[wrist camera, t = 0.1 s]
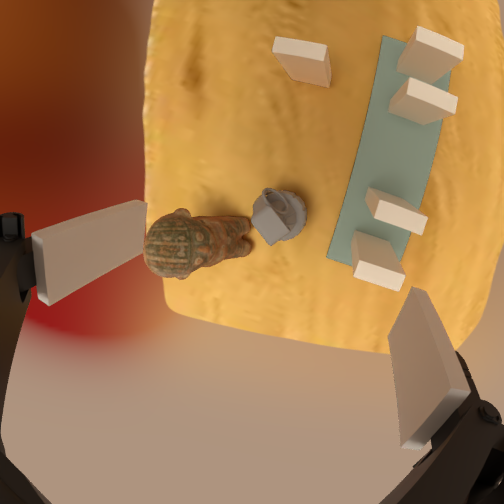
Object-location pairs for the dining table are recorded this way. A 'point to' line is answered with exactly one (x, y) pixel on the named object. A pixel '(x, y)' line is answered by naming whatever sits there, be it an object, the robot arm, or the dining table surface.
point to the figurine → (193, 242)
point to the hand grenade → (278, 215)
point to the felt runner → (386, 159)
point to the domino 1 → (304, 60)
